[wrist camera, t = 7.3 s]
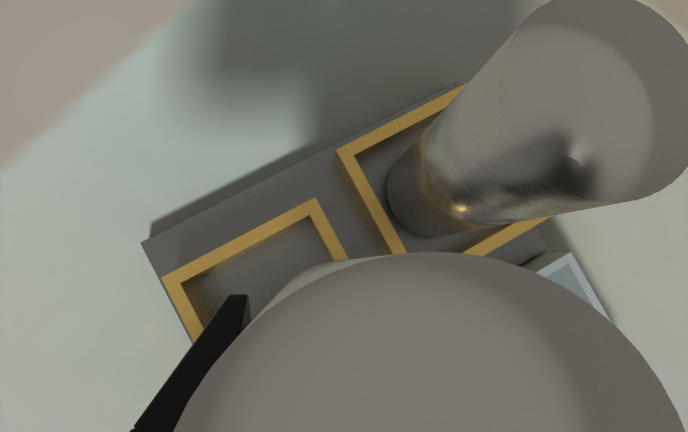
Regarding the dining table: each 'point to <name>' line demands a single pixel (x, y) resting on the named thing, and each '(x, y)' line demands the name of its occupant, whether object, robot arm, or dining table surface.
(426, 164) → the billet twin
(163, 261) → the gold holder tray
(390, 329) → the billet
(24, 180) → the dining table surface
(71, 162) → the dining table surface
